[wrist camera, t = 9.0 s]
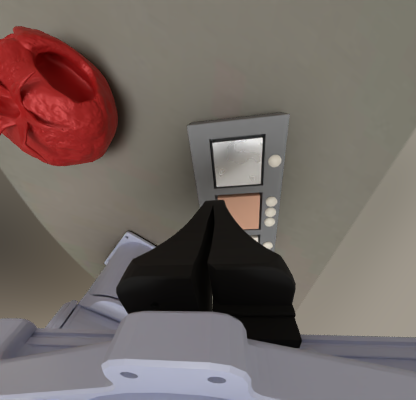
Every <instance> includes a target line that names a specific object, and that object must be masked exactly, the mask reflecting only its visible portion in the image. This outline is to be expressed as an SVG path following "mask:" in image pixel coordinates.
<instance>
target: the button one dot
mask: <svg viewBox="0 0 416 400" xmlns="http://www.w3.org/2000/svg"><path fill="white" fill-rule="evenodd" d="M262 143H263V138H262V137H261V136H260V135H249V136H239V137H229V138H220V139H213V153H214V164H215V175H216V185H217V187H223V186H237V185H251V184H261V165H262Z"/></svg>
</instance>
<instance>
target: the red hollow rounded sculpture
mask: <svg viewBox="0 0 416 400" xmlns="http://www.w3.org/2000/svg"><path fill="white" fill-rule="evenodd" d="M13 31H14V34H10V35H7V36H6V37H5V39H0V135H1V133H2V134H4V135H5V136H6V137H7V138H9V139H10V140H11V141H12V142H13V143H14V144H15V145H17V146H18V147H19V148H20V149H21V150H22V151H24V152H25V153H27V154H29V155H31V156H33V157H35V158H37V159H39V160H41V161H42V162H44V163H47V164H50V165H55V166H68V165H77V164H82V163H88V162H93V161H95V160H97V159H99V158H101V157H102V156H103V155H104V154H105V153H106V151H107V148H108V146H109V145H110V143H111V141H112V139H113V137H114V135H115V133H116V129H117V125H118V115H117V109H116V105H115V101H114V96H113V94H112V92H111V90H110V87H109V84H108V82H107V81H106V79H105V77H104V76H103V75H102V74H101V72H100V71H99V70H98V69H97V68H96V67H95V66H94V65H93V64H92V63H91V62H89V61H88V60H87V59H86V58H85V57H84V56H83V55H82V54H80V53H79V52H77V51H76V50H75V49H73V48H72V47H70V46H69V45H68V44H66V43H64V42H63V41H61V40H59V39H57V38H55V37H52V36H50V35H49V34H46V33H44V32H42V31H40V30H36V29H30V28H26V27H22V26H16V27H14V28H13Z"/></svg>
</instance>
